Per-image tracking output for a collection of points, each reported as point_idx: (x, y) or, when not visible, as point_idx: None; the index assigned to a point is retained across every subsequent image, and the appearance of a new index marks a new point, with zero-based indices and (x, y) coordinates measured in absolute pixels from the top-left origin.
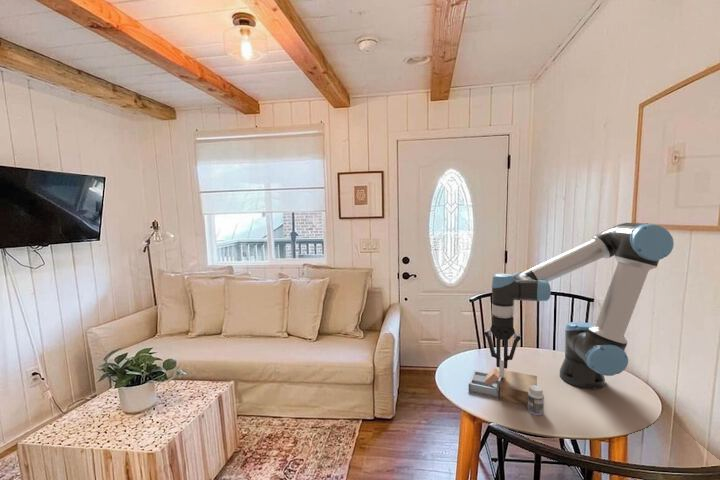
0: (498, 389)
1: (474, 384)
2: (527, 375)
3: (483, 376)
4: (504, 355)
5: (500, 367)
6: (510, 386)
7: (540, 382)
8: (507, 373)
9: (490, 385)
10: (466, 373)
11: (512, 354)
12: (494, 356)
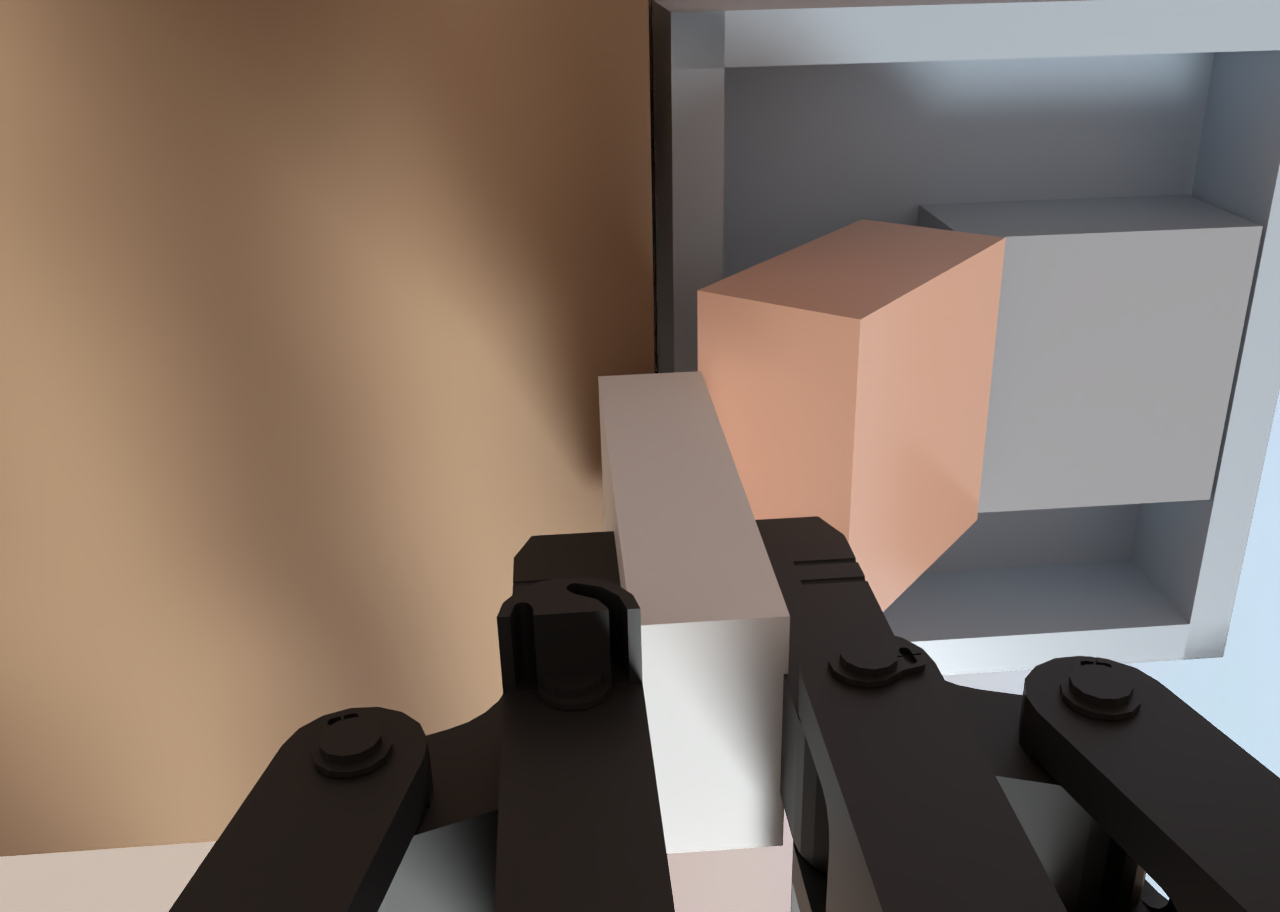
0: (671, 29)
1: (1224, 17)
2: (136, 794)
3: (1026, 491)
4: (625, 790)
5: (713, 487)
6: (382, 61)
7: (55, 902)
8: None
9: (856, 228)
10: (1274, 655)
11: (230, 908)
12: (1027, 682)
